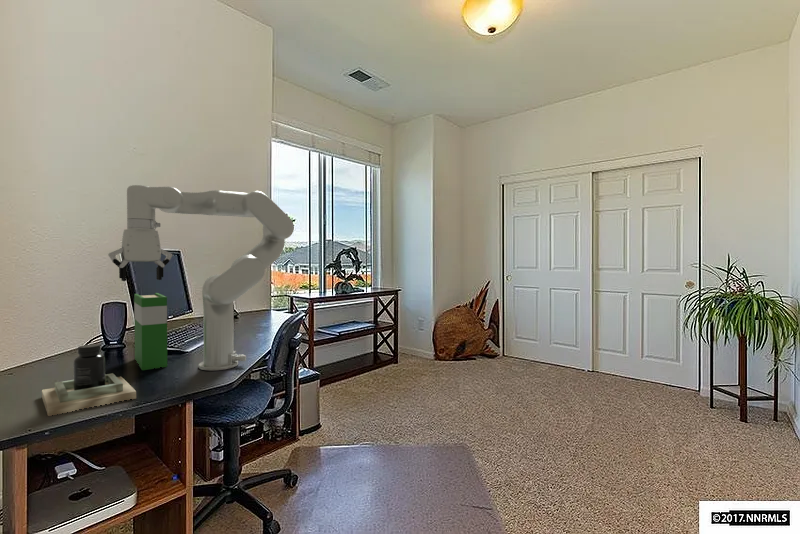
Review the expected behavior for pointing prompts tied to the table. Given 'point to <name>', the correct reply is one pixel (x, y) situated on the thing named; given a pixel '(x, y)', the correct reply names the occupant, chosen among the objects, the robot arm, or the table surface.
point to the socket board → (85, 395)
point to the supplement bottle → (89, 367)
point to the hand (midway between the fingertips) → (141, 280)
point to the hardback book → (150, 330)
